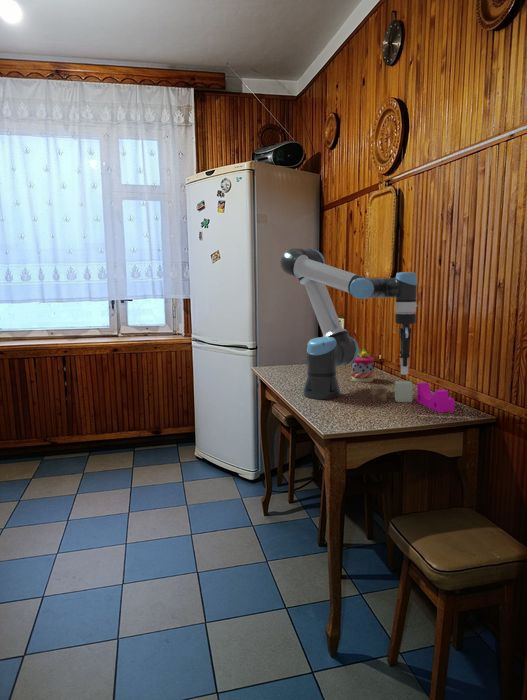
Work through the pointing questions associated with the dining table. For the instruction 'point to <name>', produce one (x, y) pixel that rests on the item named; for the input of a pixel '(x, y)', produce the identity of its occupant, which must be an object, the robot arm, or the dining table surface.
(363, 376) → the cake
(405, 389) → the sage block
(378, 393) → the walnut block
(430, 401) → the toy block
